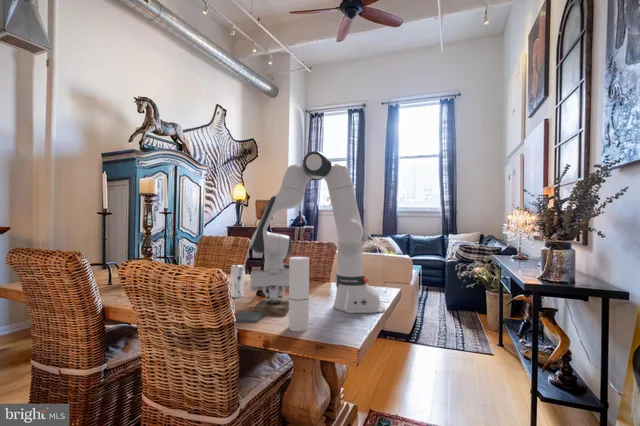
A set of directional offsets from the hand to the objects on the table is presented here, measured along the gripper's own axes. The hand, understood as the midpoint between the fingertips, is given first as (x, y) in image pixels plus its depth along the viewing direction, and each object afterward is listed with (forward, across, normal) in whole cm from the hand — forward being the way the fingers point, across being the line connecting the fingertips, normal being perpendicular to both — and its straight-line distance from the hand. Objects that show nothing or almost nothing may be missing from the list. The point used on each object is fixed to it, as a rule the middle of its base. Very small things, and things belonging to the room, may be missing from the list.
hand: (273, 297), depth 131 cm
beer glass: (-14, -17, +22) cm, 31 cm away
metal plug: (+3, 0, +4) cm, 5 cm away
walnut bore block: (+3, 0, +4) cm, 5 cm away
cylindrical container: (+19, +9, -11) cm, 24 cm away
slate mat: (+10, -10, -2) cm, 14 cm away
